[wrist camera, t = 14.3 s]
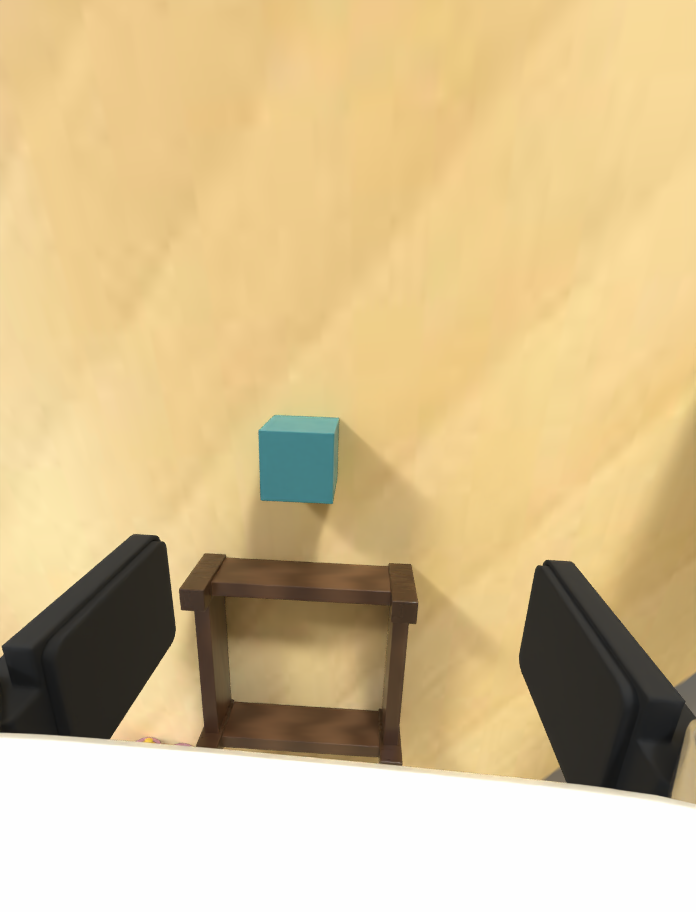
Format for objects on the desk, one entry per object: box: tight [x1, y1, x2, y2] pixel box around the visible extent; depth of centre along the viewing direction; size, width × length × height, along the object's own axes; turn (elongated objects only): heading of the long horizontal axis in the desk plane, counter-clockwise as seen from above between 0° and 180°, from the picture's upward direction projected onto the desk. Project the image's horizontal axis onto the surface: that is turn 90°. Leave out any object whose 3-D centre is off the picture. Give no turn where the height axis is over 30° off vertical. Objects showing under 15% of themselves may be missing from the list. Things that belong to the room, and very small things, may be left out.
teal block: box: [259, 415, 339, 504], centre depth 29 cm, size 5×5×5 cm
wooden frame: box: [179, 554, 418, 766], centre depth 34 cm, size 17×17×5 cm
